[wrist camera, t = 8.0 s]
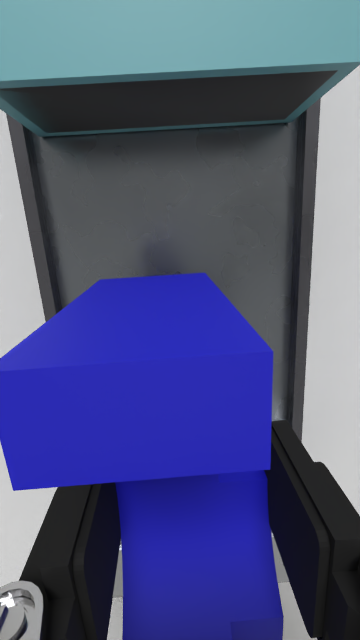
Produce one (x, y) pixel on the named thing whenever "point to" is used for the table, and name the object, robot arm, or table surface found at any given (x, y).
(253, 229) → the vise base
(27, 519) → the table surface
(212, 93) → the block
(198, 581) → the blue curved block
